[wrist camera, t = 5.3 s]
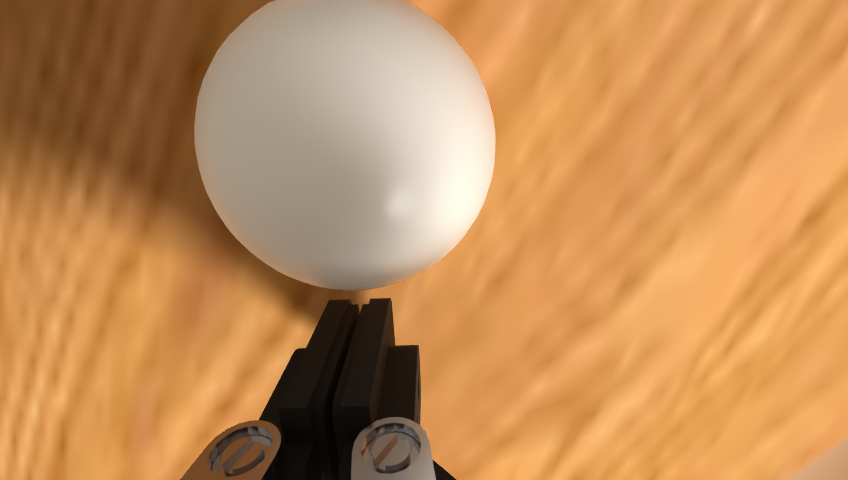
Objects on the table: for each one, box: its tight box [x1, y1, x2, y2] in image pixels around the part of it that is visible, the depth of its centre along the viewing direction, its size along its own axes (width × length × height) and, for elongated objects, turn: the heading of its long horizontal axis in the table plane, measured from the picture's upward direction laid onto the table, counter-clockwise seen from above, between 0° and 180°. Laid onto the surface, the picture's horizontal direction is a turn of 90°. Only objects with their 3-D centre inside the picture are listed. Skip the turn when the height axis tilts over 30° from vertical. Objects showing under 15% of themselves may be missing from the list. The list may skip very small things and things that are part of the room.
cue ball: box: [194, 0, 496, 290], centre depth 8 cm, size 6×6×6 cm
